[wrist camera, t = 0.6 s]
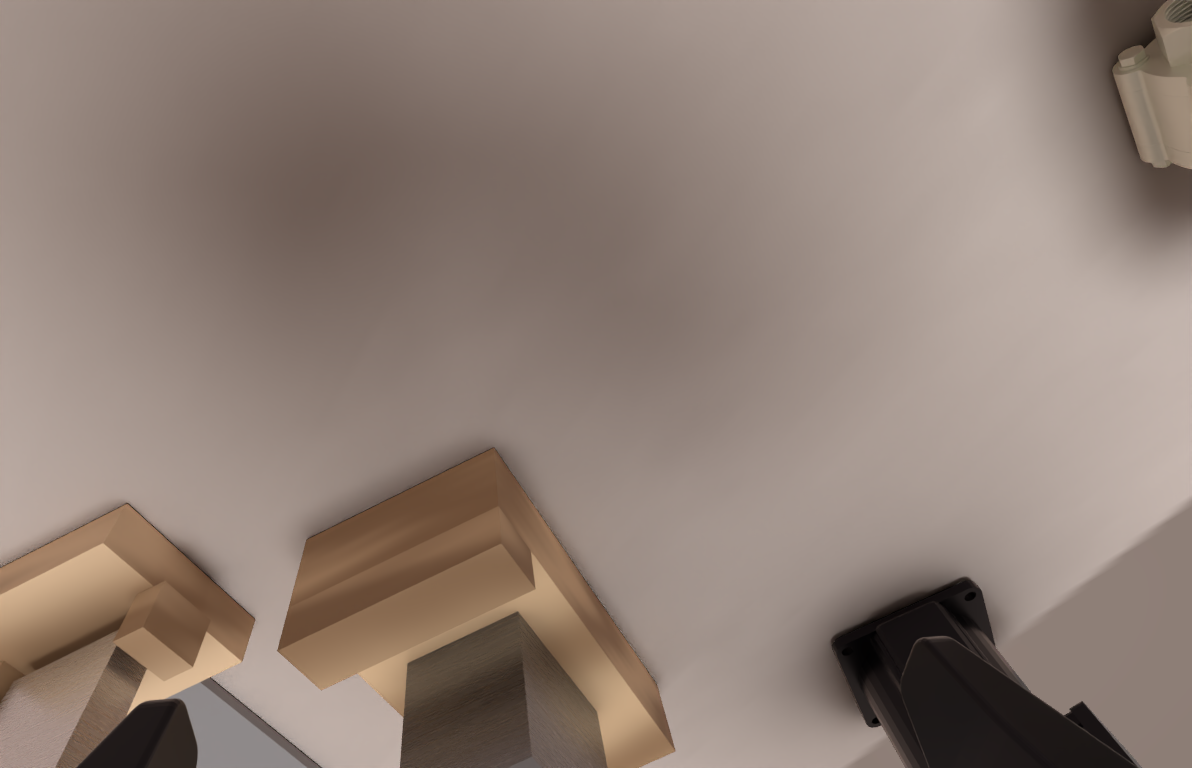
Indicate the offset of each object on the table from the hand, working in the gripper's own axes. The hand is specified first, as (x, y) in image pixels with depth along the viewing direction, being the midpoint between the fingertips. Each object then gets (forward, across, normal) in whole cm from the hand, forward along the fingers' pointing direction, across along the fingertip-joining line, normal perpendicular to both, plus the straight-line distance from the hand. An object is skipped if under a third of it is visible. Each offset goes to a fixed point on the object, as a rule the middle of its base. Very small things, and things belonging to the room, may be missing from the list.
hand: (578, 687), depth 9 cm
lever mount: (+14, +13, +11) cm, 22 cm away
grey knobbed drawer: (+11, 0, +14) cm, 17 cm away
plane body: (+14, 0, +14) cm, 19 cm away
